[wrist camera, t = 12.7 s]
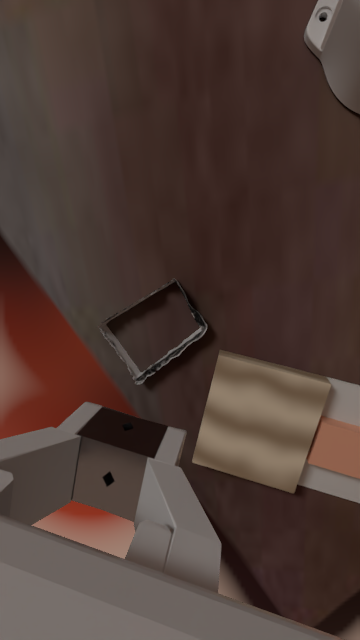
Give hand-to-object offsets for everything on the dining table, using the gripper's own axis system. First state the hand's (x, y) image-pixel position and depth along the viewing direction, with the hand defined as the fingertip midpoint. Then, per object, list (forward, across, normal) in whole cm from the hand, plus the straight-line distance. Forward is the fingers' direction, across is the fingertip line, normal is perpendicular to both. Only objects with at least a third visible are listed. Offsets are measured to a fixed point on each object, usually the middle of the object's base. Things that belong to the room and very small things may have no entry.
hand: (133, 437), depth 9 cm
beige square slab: (+34, -9, +15) cm, 38 cm away
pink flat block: (+34, -21, +15) cm, 43 cm away
